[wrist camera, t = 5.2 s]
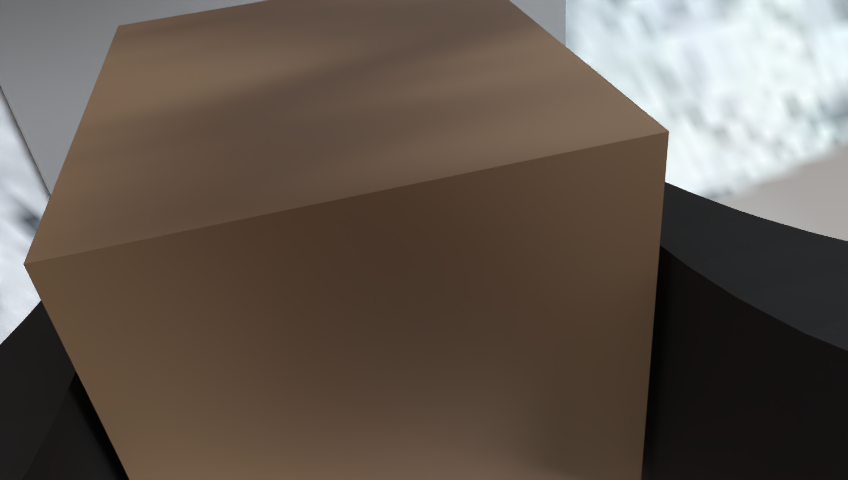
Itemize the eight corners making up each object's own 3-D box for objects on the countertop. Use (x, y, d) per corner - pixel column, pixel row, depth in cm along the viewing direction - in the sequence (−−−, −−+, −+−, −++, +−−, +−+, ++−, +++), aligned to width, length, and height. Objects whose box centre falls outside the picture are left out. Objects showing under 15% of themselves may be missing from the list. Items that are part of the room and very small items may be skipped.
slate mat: (562, -326, 15) (566, -327, 15) (562, 222, 22) (564, 226, 22) (-143, -238, 13) (-148, -237, 13) (111, 322, 21) (111, 327, 20)
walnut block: (467, -34, 11) (669, 130, 6) (488, 247, 14) (637, 519, 9) (118, 25, 10) (23, 265, 5) (213, 308, 13) (207, 637, 8)
